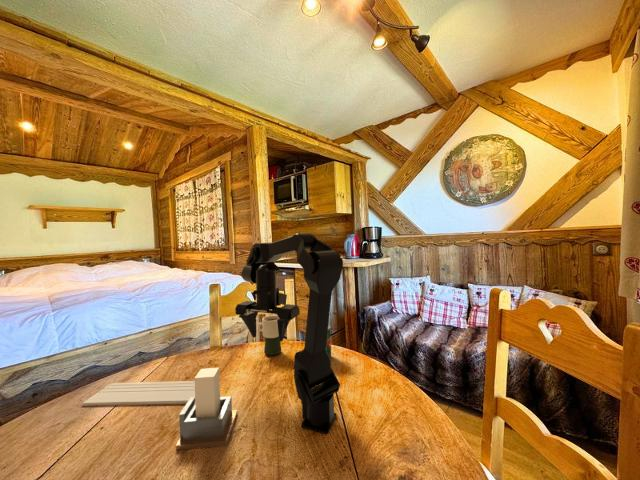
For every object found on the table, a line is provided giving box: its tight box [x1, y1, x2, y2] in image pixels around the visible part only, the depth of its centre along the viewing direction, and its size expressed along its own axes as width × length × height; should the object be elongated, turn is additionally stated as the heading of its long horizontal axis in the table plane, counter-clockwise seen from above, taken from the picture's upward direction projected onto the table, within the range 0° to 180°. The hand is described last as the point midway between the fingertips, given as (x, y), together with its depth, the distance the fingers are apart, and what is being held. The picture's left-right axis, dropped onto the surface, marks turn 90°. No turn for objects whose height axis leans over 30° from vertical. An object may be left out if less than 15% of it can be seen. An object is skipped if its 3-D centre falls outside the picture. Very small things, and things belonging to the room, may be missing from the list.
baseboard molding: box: [82, 380, 195, 407], centre depth 76 cm, size 31×3×12 cm
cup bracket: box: [175, 395, 238, 451], centre depth 60 cm, size 10×10×6 cm
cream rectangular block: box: [194, 367, 221, 418], centre depth 60 cm, size 4×4×12 cm
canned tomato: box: [326, 324, 332, 359], centre depth 94 cm, size 8×8×11 cm
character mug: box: [257, 314, 288, 356], centre depth 99 cm, size 11×7×13 cm, turn 84°
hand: (267, 339), depth 78 cm, fingers open, 9 cm apart
